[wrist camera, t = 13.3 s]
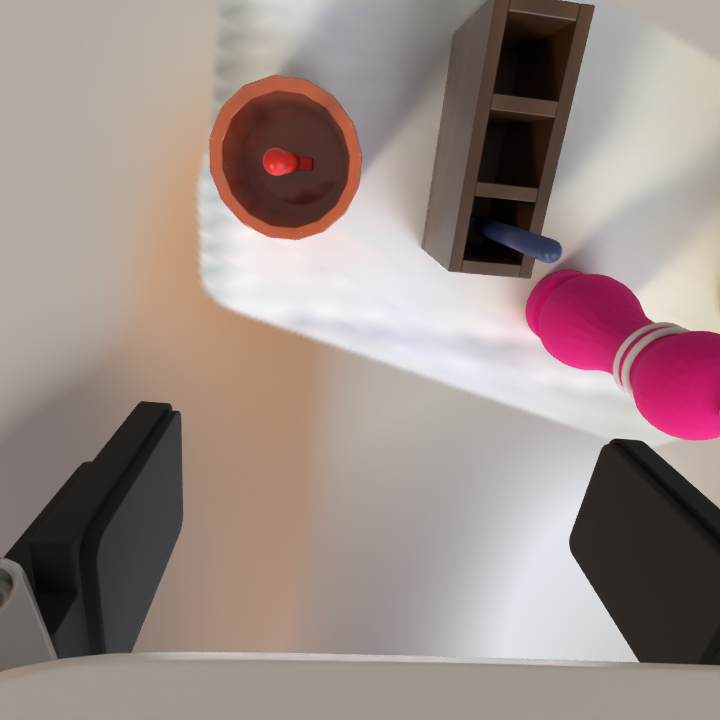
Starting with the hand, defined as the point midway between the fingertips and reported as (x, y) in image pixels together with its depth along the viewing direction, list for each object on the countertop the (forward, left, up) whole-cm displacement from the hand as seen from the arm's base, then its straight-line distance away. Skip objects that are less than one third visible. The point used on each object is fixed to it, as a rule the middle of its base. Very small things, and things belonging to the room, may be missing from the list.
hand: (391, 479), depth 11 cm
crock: (+4, -6, -30) cm, 30 cm away
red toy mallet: (+4, -6, -29) cm, 30 cm away
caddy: (-9, -8, -30) cm, 32 cm away
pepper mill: (-19, +3, -30) cm, 35 cm away
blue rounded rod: (-9, -3, -29) cm, 30 cm away
